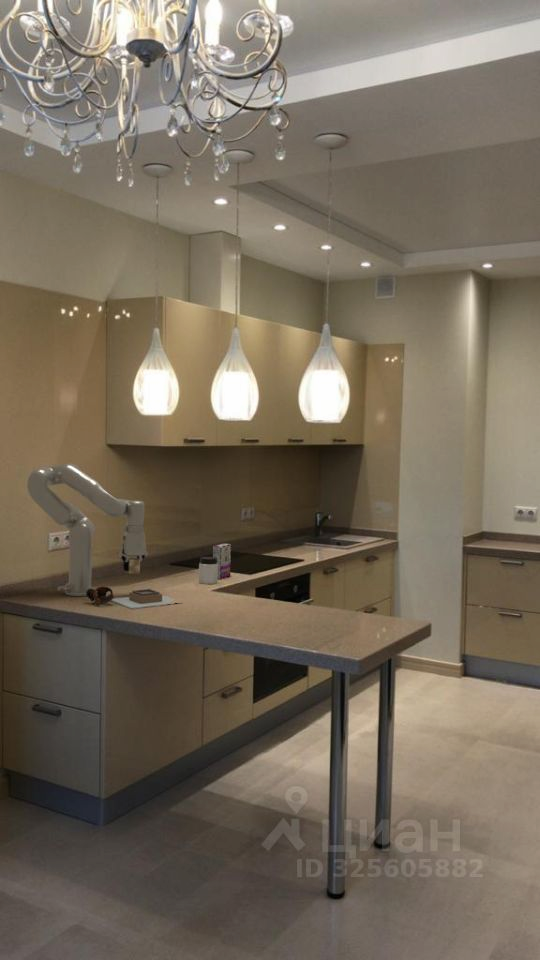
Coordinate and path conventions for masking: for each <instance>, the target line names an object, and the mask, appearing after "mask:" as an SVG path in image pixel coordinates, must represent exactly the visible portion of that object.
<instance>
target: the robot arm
mask: <svg viewBox="0 0 540 960" xmlns="http://www.w3.org/2000/svg"><path fill="white" fill-rule="evenodd" d="M26 484H27V486H26V487H27V491H28V494H29V496H30V498H31V499H32V500H33V502H34V503H36V504H37V506H39V507H40V509H41V510H42V511H43V512H45V514H47V516H49V517H50V519H52V521H54V523H56V524H57V525H58V526H64V527H65V528H67V530H69V531H68V544H69V545H68V546H69V550H68V552H69V553H68V555H69V556H68V558H69V561H68V562H69V563H68V582H66V584H65V585H59V586H57V590H58V591H60V592H62V591H64V594H65V595H66V596H70V597H88V596H87V594H86V592H87V590H88V589H92V571H93V569H92V567H93V557H92V555H93V553H92V552H93V544H92V541H93V540H92V538H93V537H94V535H95V532H96V527H95V525H94V523H93V521H91V519H89V517H88V516H86V515H85V514H84V513H83V512H82V511H81V510H80V509H79V508H78V507H77V506H76V505H74V504H73V503H71V502H67V501H64V500H62V498H60V497H59V496H58V495H57V493H55V492H54V491H53V490H52V489H50V487H49V486H57V485H64V484H65V485H67V487H69V488H71V489H72V490H73V491H75V492H76V493H78V494H80V495H81V496H83V498H85V499H87V500H88V501H89V502H90V503H91V504H93V505H94V506H95V507H97V508H98V509H100V510H101V511H102V512H104V513H105V514H107V515H108V516H110V517H111V518H121V517H123V516H126V519H125V521H126V522H125V525H124V526H123V530H125V531H124V532H123V534H122V540H121V548H120V549H119V551H118V552H117V555H118V557H120V559H121V560H122V561H123V572H124V571H128V570H129V562H128V560H129V558H131V557H132V556H133V557H134V556H136V557H135V558H137V559H140V569H141V568H142V561H144V559H145V558H146V557H147V556H148V555H149V552H148V551H147V541H146V534H145V533H146V532H144V523H145V521H144V520H145V507H146V506H145V505H146V504H145V502H144V501H142V500H135V499H134V500H129V499H123V498H116V497H114V496H113V495H111V494H110V493H108V492H107V491H106V490H105V489H104V488H103V487H102V486H101V484H100V483H99V482H98V480H95V478H92V477H91V476H90V475H88V474H87V473H85V472H84V471H82V470H81V469H80V466H78V465H77V464H74V463H73V462H72V463H71V462H70V463H66V464H57V465H52V466H42V467H37V468H35V469H33V470H32V471H31V472H30V474H29V475H28V478H27V483H26Z"/></svg>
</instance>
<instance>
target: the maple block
mask: <svg viewBox="0 0 540 960" xmlns="http://www.w3.org/2000/svg"><path fill="white" fill-rule="evenodd" d="M128 562H129V570H128V571H124V570H123V572H124V573H127V574H130V575H132V574H140V571H141V568H140V559H137V557H129V560H128Z"/></svg>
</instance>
